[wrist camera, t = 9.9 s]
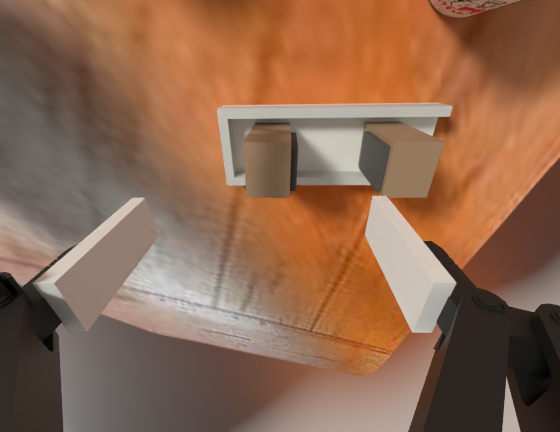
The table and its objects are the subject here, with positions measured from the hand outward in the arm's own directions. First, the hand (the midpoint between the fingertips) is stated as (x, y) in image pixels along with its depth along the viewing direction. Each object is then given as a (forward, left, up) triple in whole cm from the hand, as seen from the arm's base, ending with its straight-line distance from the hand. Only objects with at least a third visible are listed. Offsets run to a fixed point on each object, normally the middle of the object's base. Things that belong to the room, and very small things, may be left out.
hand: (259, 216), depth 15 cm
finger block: (0, 0, -17) cm, 17 cm away
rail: (+6, 0, -18) cm, 19 cm away
